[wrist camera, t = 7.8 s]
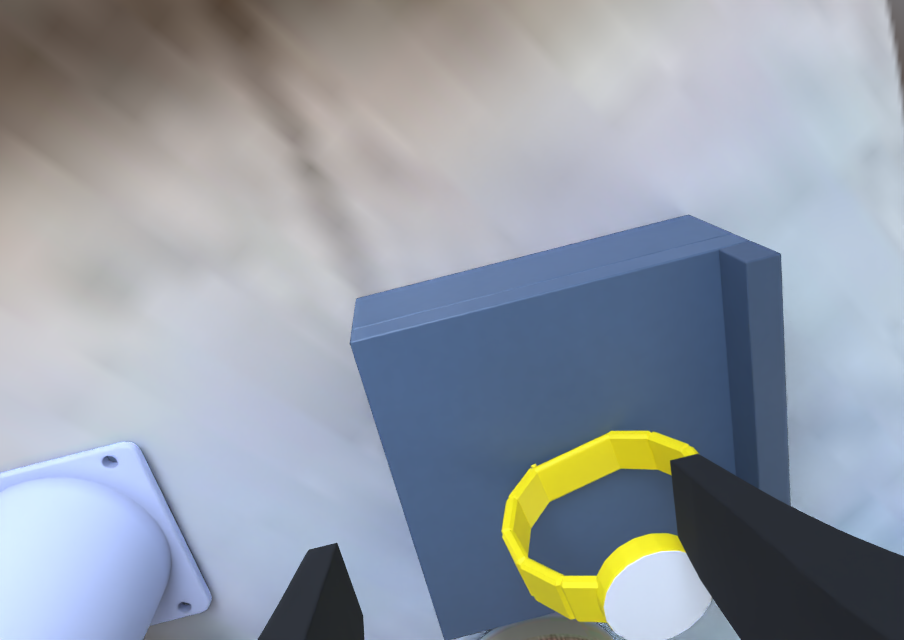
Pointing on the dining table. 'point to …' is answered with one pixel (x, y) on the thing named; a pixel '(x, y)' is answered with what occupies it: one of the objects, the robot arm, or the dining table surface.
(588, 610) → the watch
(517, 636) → the coffee cup
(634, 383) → the blue stand
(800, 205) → the dining table surface
